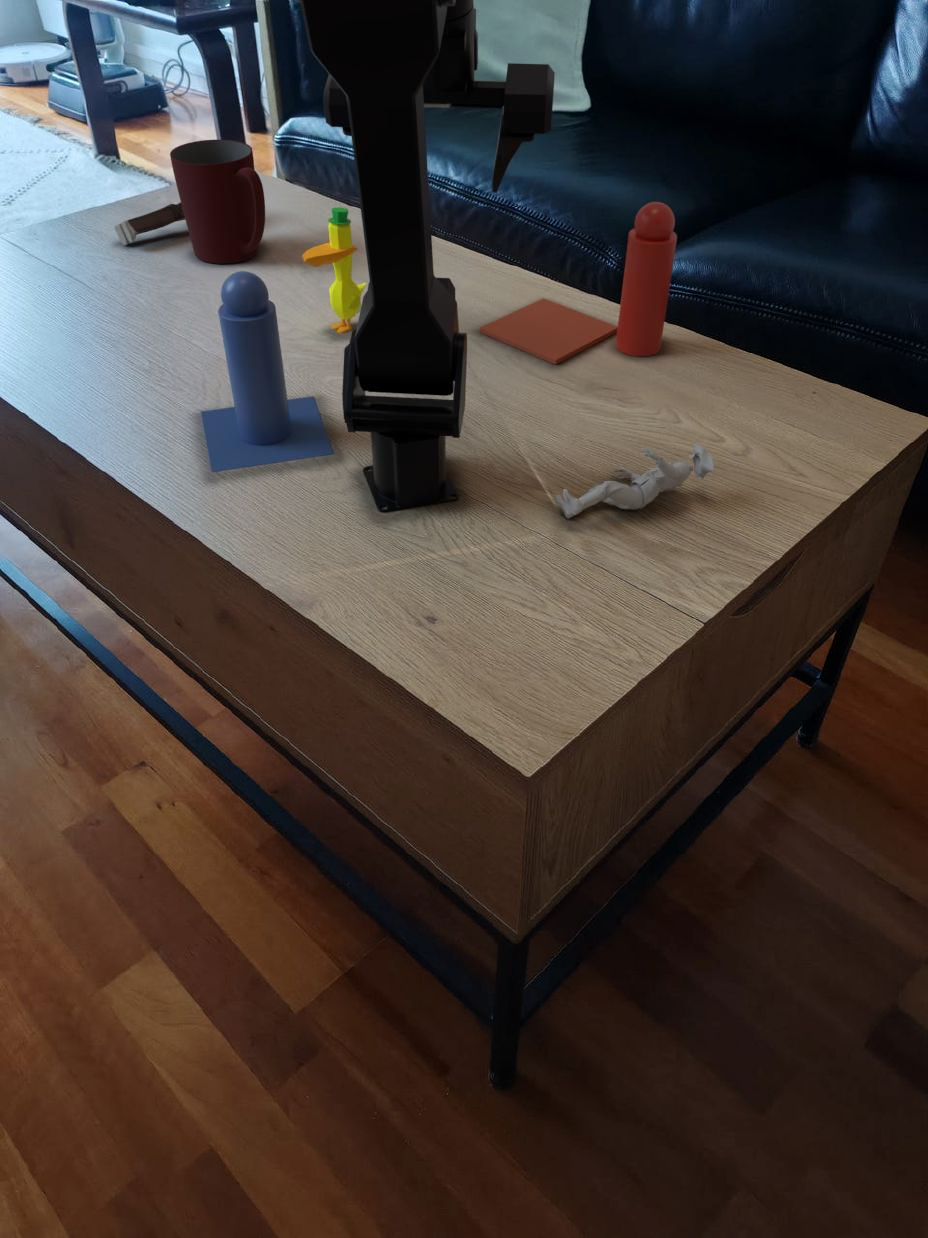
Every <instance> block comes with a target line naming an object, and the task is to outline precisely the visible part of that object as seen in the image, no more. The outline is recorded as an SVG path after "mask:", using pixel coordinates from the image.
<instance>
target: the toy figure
mask: <svg viewBox="0 0 928 1238" xmlns="http://www.w3.org/2000/svg"><path fill="white" fill-rule="evenodd" d="M348 216H349V210H348V208H346V207H341V206H338V207H337V206H336V207H332V208H331V217H330V218H328V220H327V222H329V223H328V224H327V225H328V236H329V238H328V239H329V242H326V243H322V244H318V245H316V246H313V247H311V248H309V249H307V250H306V251H305V252H304V253H303V254H302V256H301V257H302V259H303V262H304V263H306V264H308V265H310V266H312V267H314V268H315V267H320V266H321V267H322V266H325V265H329V264H332V265H333V269H334V275H335V279H334V281H333V283H332V284H331V286H330V287H329V289H328V290H329V292H328V293H329V301H330V302H329V303H330V307H331V309H332V310H333V312H334V313H335V314H336V315H337V316H338V318H339V319H340V321H341V322H336V323H333V325H332V326H331V327H330V329H332V330H336V334H343V333H346V332H348V331H350V330H353V327H352V326H351V325H352V324H351V319H353V318H354V317H356V315H357V313H358V312H359V310H360V309H361V306H362V302H361V296H362V294H363V291H364V290H365V287H366V285H367V283H368V282H364V283H360V284H356V283H355V281H354V280H353V279H352V269H353V268H352V267H353V254H354V253H355V252H357V251H358V247H356V246H355V245H353V240H352V228H351V227H352V226H351V223H352V220H351V219H349V218H348Z"/></svg>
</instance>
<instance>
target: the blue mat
mask: <svg viewBox="0 0 928 1238" xmlns="http://www.w3.org/2000/svg"><path fill="white" fill-rule="evenodd" d="M315 399H316V398H315V397H314V395H313V396H306V397H298V398H291V399H287V400H288V408H289V415H290V423H291V433H290V435H289V436H288V437H287V438H286V439H284V440H282V441H280V442H278V443H275V444H270V445H253V444H249V443H247V442H245V441H243V440H242V439H241V437H240V435H239V430H238V424H237V419H236V413H235V407H234V406H232V407H224V408H218V409H210V410H209V409H208V410H201V412H200V415H201V421H202V426H203V430H204V431H203V432H204V437H205V442H206V443H205V444H206V448H207V452H208V459H209V465H210V471H211V473H217V472H223V471H230V470H237V469H244V468H251V467H258V466H265V465H271V464H277V463H278V464H279V463H285V462H292V461H297V460H305V459H311V458H317V457H324V456H325V457H326V456H332V455H335V453H334V450H333V447H332V444H331V442H330V439H329V436H328V433H327V430H326V428H325V424H324V422H323V419H322V417H321V414H320V410H319V407H318V405H317V401H316V400H315Z"/></svg>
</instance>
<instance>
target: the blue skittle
mask: <svg viewBox="0 0 928 1238" xmlns="http://www.w3.org/2000/svg"><path fill="white" fill-rule="evenodd" d="M269 294H270V293H269V289H268V287H267V285H266V283H265V282H264V280H263V279H261V277H260V276H259V275H257V274H255V273H253V272H251V271H246V270H241V271H236V272H233V273H232V274H230V275H228V276H227V278H226V279H224V281H223V283H222V285H221V290H220V299H221V303H222V304H221V305H220V306H219V308H218V311H217V312H218V319H219V325H220V330H221V337H222V343H223V348H224V353H225V360H226V365H227V371H228V377H229V383H230V389H231V395H232V400H233V407H235V413H236V419H237V424H238V430H239V435H240V437H241V439H242V440H243V441H245V442H247V443H249V444H253V445H270V444H275V443H278V442H280V441H282V440H284V439H286V438H287V437H288V436H289V435H290V433H291V423H290V415H289V408H288V400H289V399H288V393H287V385H286V377H285V369H284V361H283V355H282V347H281V339H280V330H279V323H278V316H277V308H276V304H275V303H274V302H273V301H271V300H270V299H269V298H270V297H269V296H270V295H269Z"/></svg>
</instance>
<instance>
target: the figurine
mask: <svg viewBox="0 0 928 1238" xmlns="http://www.w3.org/2000/svg"><path fill="white" fill-rule="evenodd" d="M180 221H186V219H185V216H184V212H183V208H182V204H181V201H180V202H177V203H176V204H175V203H170V204H168V205H166V206H164V207H161V208H158V209H157V210H154V211H151V212H148V213H145V214H142V215H139V216H137V217H133V218H130V219H127V220H123V221H122V222H120V223H117V224H116V225H114V226H113V227H114V230H115V232H116V235H117V237H118V239H119V241H120V243H121V245H123V246H128V245H129V243H132V244H133V243H134V242H135V241H136V240H137V236H138V235H141V234H145V233H149V232H151V231H155V230H158V229H162V228H164V227H167V226H170V225H171V224H173V223H176V222H180Z"/></svg>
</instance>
